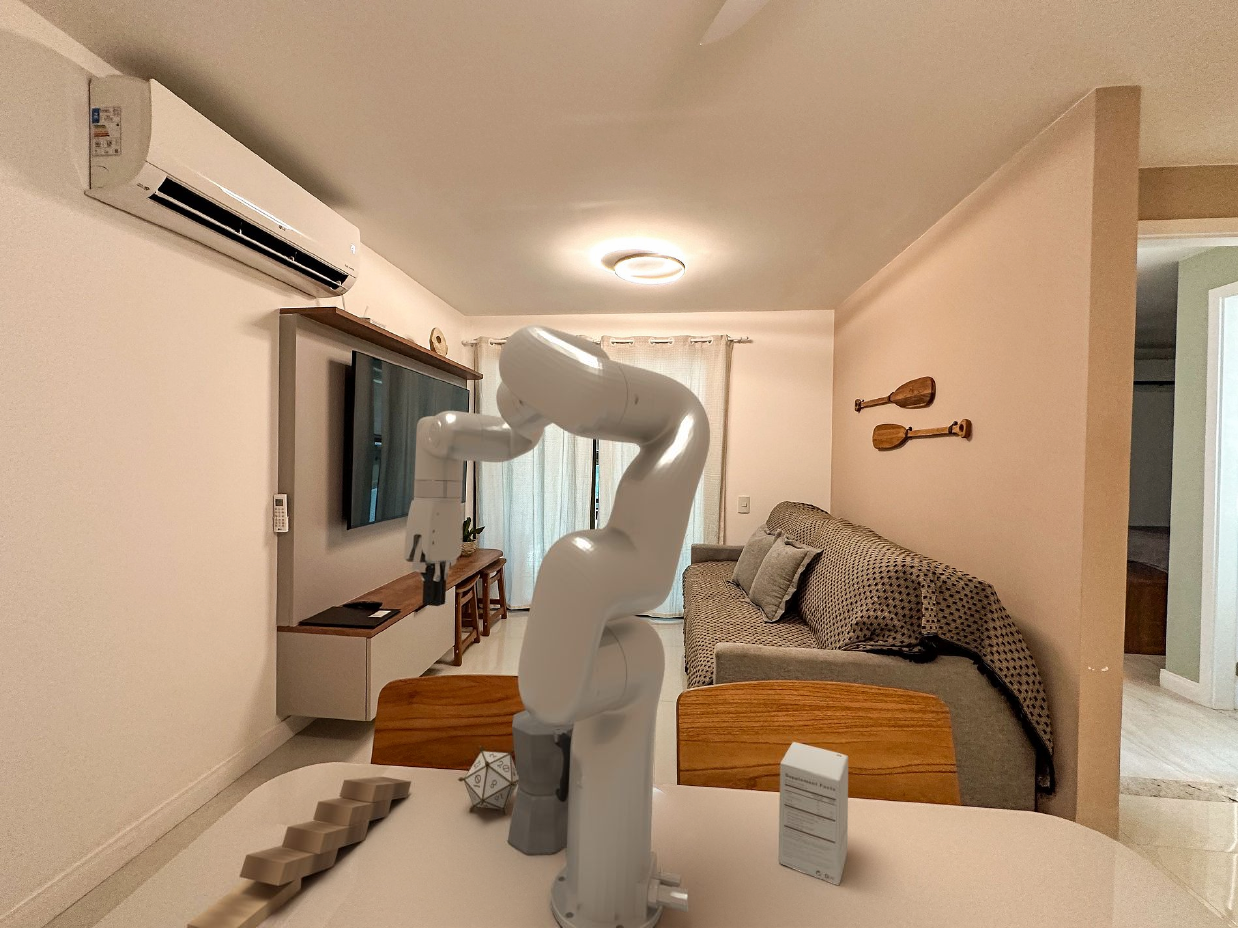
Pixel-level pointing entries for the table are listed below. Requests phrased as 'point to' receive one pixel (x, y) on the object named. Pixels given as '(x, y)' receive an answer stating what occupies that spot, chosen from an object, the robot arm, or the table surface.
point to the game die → (491, 780)
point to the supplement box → (814, 811)
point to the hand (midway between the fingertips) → (433, 604)
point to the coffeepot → (540, 786)
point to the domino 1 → (246, 905)
